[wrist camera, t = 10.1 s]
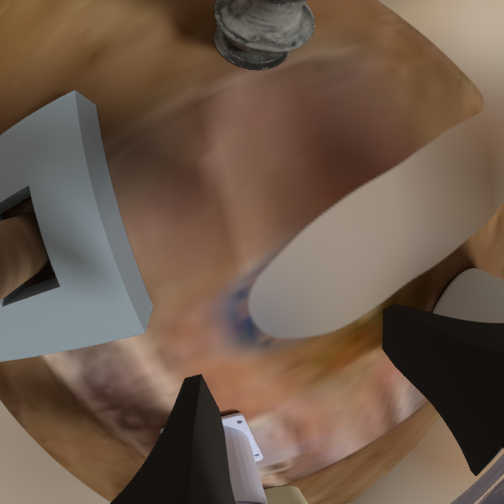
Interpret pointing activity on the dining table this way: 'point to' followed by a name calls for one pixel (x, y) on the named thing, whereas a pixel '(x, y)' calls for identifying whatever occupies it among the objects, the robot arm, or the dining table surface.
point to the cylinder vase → (473, 297)
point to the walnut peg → (20, 251)
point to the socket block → (69, 236)
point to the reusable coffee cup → (284, 495)
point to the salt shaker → (261, 30)
